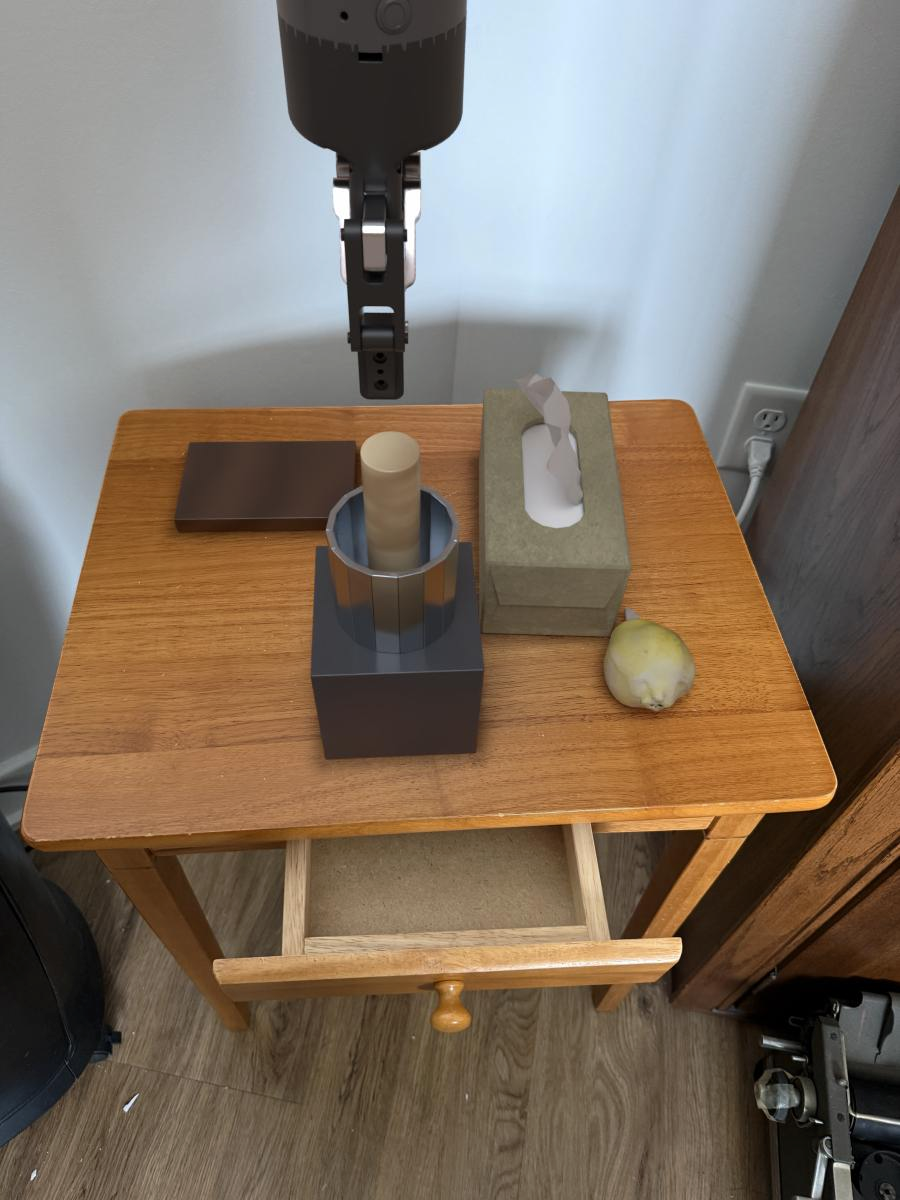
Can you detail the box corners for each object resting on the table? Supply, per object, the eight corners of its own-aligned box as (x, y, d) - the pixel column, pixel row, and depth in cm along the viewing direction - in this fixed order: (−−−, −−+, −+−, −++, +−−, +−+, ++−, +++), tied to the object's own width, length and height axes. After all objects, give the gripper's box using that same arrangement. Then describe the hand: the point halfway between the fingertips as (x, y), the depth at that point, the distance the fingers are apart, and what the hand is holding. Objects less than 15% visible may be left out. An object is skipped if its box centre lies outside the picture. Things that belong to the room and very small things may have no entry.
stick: (361, 607, 53) (348, 458, 44) (386, 573, 55) (379, 423, 46) (405, 626, 52) (401, 479, 43) (429, 591, 54) (431, 442, 45)
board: (177, 532, 71) (173, 519, 69) (192, 454, 76) (189, 441, 75) (354, 530, 71) (353, 517, 70) (356, 453, 77) (355, 440, 76)
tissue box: (478, 459, 77) (490, 297, 64) (591, 463, 77) (625, 302, 64) (479, 637, 65) (493, 481, 53) (612, 641, 65) (657, 487, 53)
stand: (324, 759, 59) (310, 676, 51) (328, 636, 65) (315, 545, 57) (476, 753, 59) (484, 670, 51) (465, 632, 65) (471, 541, 57)
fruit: (663, 614, 67) (714, 718, 60) (587, 640, 67) (628, 745, 60) (654, 561, 63) (707, 665, 56) (572, 589, 63) (615, 695, 56)
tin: (313, 623, 53) (301, 545, 48) (374, 544, 57) (370, 463, 52) (419, 671, 51) (419, 596, 46) (475, 586, 55) (481, 507, 50)
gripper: (291, -64, 39) (321, 269, 52) (257, 71, 31) (303, 433, 43) (460, -60, 40) (449, 271, 52) (475, 76, 31) (458, 433, 44)
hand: (383, 344), depth 48 cm, fingers open, 8 cm apart
